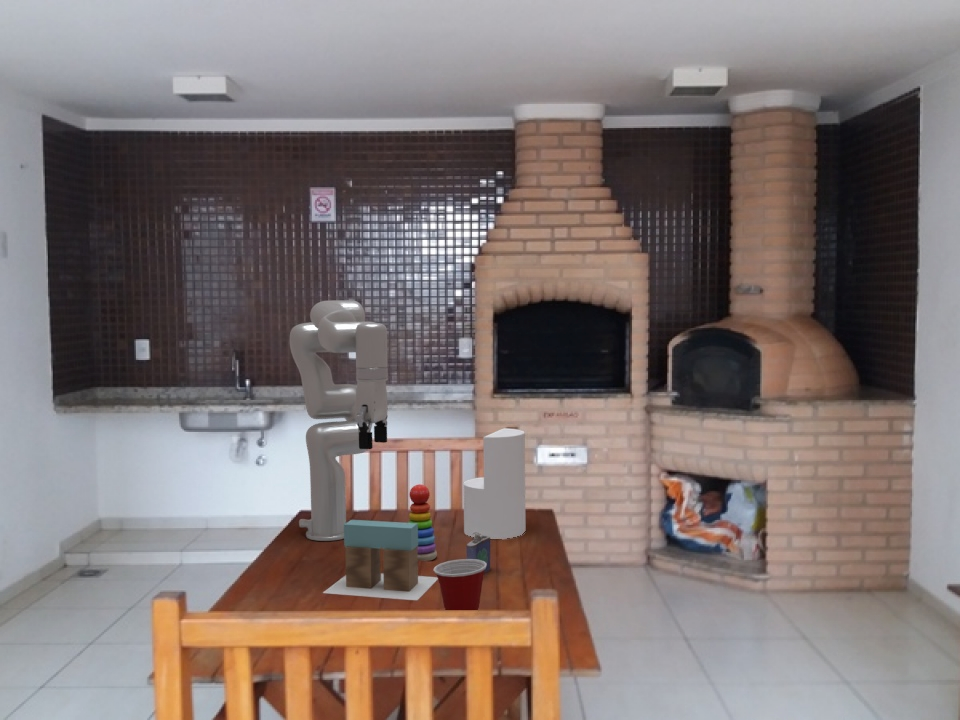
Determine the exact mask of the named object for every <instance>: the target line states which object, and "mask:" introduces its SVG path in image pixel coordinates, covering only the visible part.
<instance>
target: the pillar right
mask: <svg viewBox="0 0 960 720" xmlns="http://www.w3.org/2000/svg"><path fill="white" fill-rule="evenodd" d="M382 556H383V557H382V561H383V563H382V567H383V568H382V569H383V570H382V571H383V572H382V573H383V574H384V590H394V591H407V592H410V591H411V590H412V589H413V588H414V587H415V586H416V585H417V584H418V576H419V563H418V561H419V560H418V549H417V547H415V548H414V549H413V550H412V551H409V550H394V549H382Z"/></svg>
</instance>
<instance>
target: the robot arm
mask: <svg viewBox="0 0 960 720" xmlns="http://www.w3.org/2000/svg"><path fill="white" fill-rule="evenodd" d="M365 312H366V311H365V309H364V307H363V305H362V304H361V303H360V302H358V301H356V300H354V299H353V300H352V299H351V300H350V299H349V300H347V299H346V300H345V299H344V300H341V299H340V300H339V299H338V300H334V299H333V300H322V301H319V302H317V303H315V304H314V305H313V307H312V308H311V309H310V313H309V317H310V321H311V322H304V323H299V324H297V325H295V326H293V327H292V328H291V330H290V333H289V349H290V353H291V355H292V358H293V361H294V364H296V366H297V369H298V372H299V374H300V379H301V385H302V391H303V396H304V402H305V408H306V409H305V410H306V412H307V414H308V416H309V417H310V418H311V419H314V420H332V419H345V420H340V421H328V422H327V421H326V422H319V423H314V424H313V425H311V426H310V427H309V428H308V429H307V430H306V434H305V443H306V448H307V454H308V461H309V462H308V463H309V475H310V476H309V478H310V479H309V480H310V483H309V484H310V515H311V516H310V517H311V518H310V519H306V518H301V519H299V521H298V525H299V526H298V527H299V528H306V529H307V531H306V532H305V536H306V538H307V539H309V540H311V541H317V542H318V541H319V542H330V541H333V542H334V541H339V540H344V524H345V523H347V506H346V505H347V502H346V501H347V498H346V495H347V494H346V472H345V469H344V468H343V466H342V464H340V462H338V460H337V457H341V456H342V457H343V456H349V455H359V454H363V453H365V452H366V451H367V450H372V449H373V447H374V446H373V440H374V443H383V444H384V443H387V442H388V421H387V420H388V411H389V408H388V392H387V391H388V390H387V382H386V381H388V380H389V375H388V373H389V372H388V371H389V369H388V330H387V327H386V325H385V324H384V323H382V322H381V323H379V322H376V321H375V322H374V321H366V313H365ZM317 353H334V354H345V353H349V354H350V353H355V379H356V382H357V383H356V385H355V384H351V383H344V384H335V383H334V380H333V375H332V370H331V368H330V366H329V364H327V362H326V361H325V360H324V359H323V358H322V357H320V356H319V355H318V354H317ZM373 424H375V425H374V426H373ZM372 427H373V432H372ZM373 437H374V439H373Z"/></svg>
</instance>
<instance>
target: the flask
mask: <svg viewBox="0 0 960 720" xmlns="http://www.w3.org/2000/svg"><path fill="white" fill-rule="evenodd" d="M475 533H476V534H475ZM475 533H473V534H475V537H474V538H473V539H472V540H471V541H469V542H468V543H467V544H466V559H477V560H481V561H484V562H485V563H487V565H486V569H485V571H484V574H485V573H487V572H490V571H491V540H490V537H489V536H483V535H482V536H480V535H481V534H479V533H477V532H475Z"/></svg>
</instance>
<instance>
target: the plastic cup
mask: <svg viewBox="0 0 960 720" xmlns="http://www.w3.org/2000/svg"><path fill="white" fill-rule="evenodd" d="M486 565H487V563H485V562H484V561H481V560H477V559H467V558H465V559H461V558H460V559H453V560H448V561H445V562H441V563H439V564H437V565H436V566H434V568H433V572H434V573H435V575H436V577H437V578H438V580H437V581H438V583H439V587H440V588H439V589H440V592H441V597H442V602H443V608H444V610H478V611H479V608H480V602H481V595H482V587H483V581H484V577H485V576H484V575H485V573H484V571H485V569H486Z"/></svg>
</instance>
